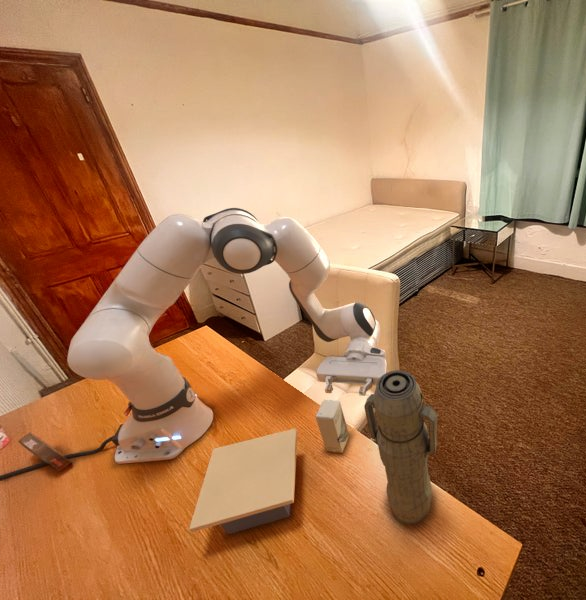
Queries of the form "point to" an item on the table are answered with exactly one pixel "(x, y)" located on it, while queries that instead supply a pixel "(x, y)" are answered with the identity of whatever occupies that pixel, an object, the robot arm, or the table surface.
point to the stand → (248, 483)
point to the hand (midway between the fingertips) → (344, 392)
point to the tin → (44, 451)
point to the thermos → (403, 443)
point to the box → (332, 425)
